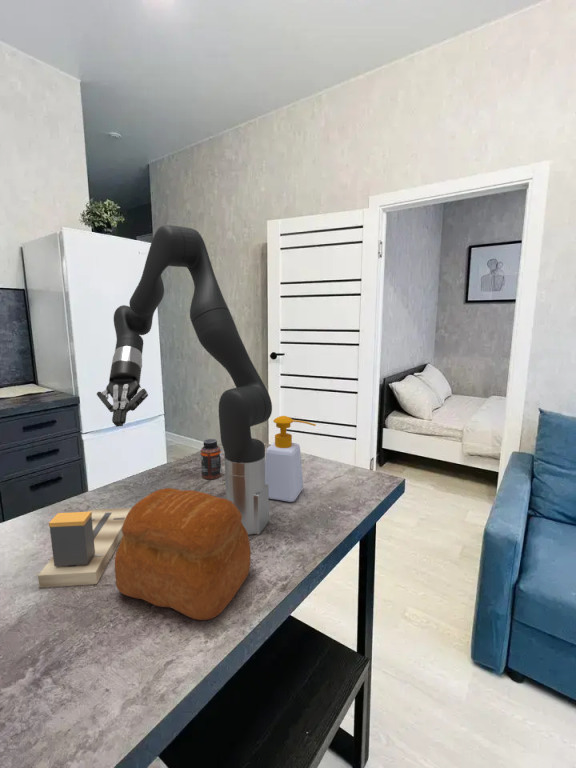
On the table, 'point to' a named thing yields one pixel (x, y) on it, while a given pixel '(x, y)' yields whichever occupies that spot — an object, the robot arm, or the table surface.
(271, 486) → the soap bottle
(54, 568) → the grooved wooden slider track
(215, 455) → the supplement bottle
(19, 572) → the table surface
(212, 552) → the bread
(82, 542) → the fader knob
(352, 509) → the table surface
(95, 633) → the table surface
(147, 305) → the robot arm
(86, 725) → the table surface
